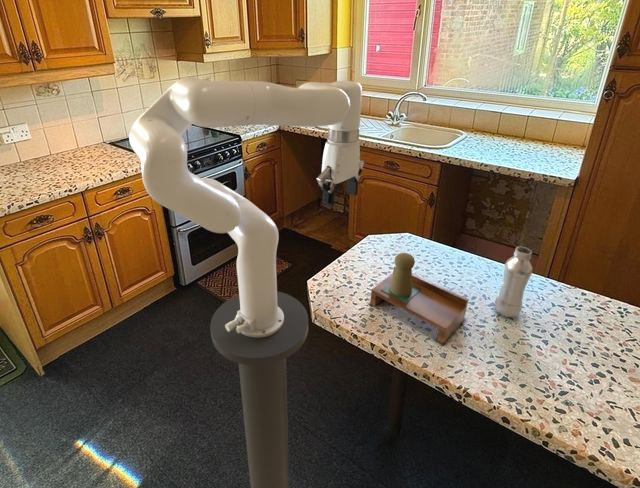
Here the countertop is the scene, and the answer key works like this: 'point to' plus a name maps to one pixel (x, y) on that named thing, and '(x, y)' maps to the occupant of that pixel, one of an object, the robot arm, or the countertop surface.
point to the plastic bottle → (514, 283)
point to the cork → (402, 275)
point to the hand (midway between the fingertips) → (340, 199)
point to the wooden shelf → (426, 304)
